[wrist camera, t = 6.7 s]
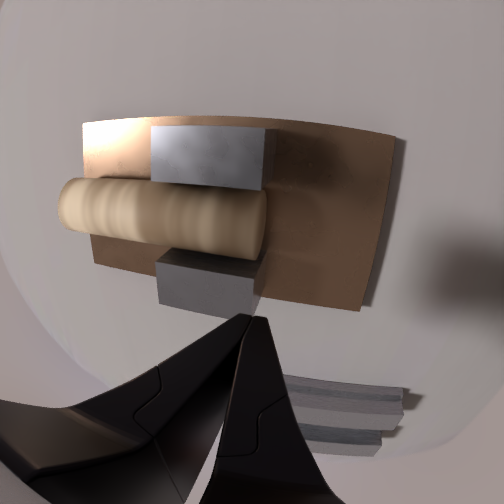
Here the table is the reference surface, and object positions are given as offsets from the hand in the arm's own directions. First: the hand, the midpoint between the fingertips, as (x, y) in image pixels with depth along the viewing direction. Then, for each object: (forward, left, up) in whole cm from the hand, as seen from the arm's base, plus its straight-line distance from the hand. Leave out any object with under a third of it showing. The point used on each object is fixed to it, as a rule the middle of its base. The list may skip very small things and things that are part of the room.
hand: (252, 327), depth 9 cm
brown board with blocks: (+2, +4, -12) cm, 13 cm away
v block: (-19, +4, -12) cm, 23 cm away
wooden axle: (+4, +8, -11) cm, 14 cm away
